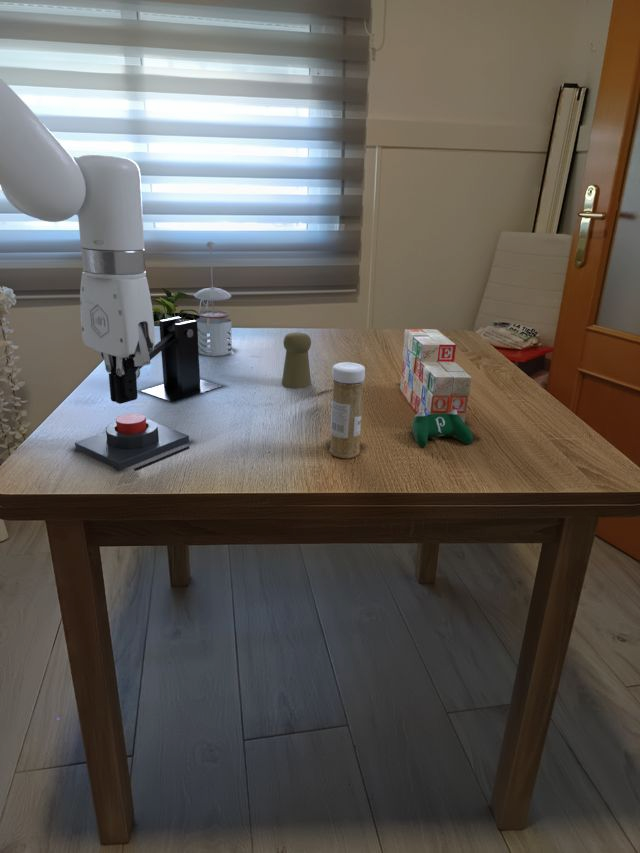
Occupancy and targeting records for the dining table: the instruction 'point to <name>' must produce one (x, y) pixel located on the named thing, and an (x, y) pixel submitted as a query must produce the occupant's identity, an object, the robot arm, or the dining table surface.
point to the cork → (296, 361)
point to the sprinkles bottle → (346, 409)
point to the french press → (213, 321)
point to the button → (131, 423)
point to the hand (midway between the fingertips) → (124, 400)
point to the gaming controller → (440, 427)
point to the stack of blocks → (433, 374)
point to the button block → (132, 445)
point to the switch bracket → (180, 364)
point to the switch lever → (162, 343)
